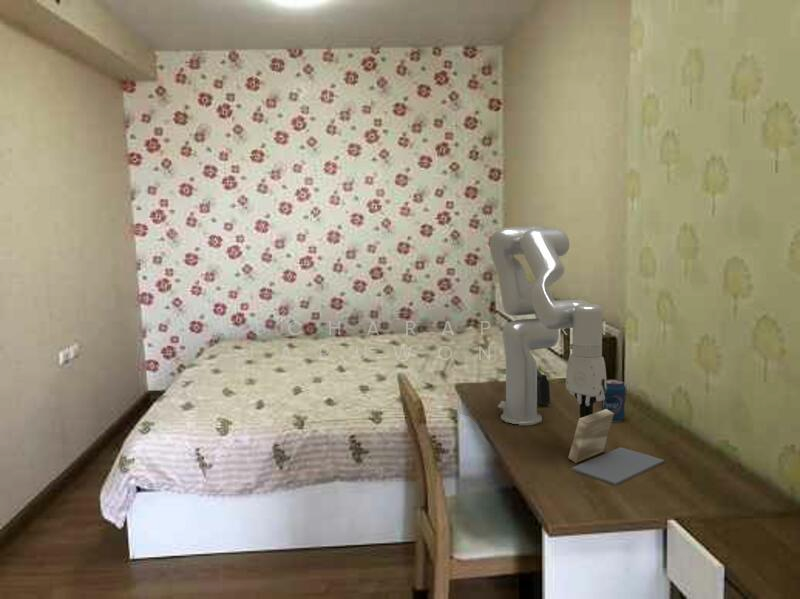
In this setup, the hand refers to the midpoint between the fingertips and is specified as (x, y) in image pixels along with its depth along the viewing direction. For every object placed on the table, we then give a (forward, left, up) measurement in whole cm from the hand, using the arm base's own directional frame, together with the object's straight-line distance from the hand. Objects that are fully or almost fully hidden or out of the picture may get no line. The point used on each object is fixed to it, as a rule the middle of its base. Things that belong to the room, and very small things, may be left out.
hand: (586, 418), depth 188 cm
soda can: (-13, +32, -11) cm, 36 cm away
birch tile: (0, 0, -10) cm, 10 cm away
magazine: (-47, +36, -11) cm, 60 cm away
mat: (+10, 0, -10) cm, 14 cm away
